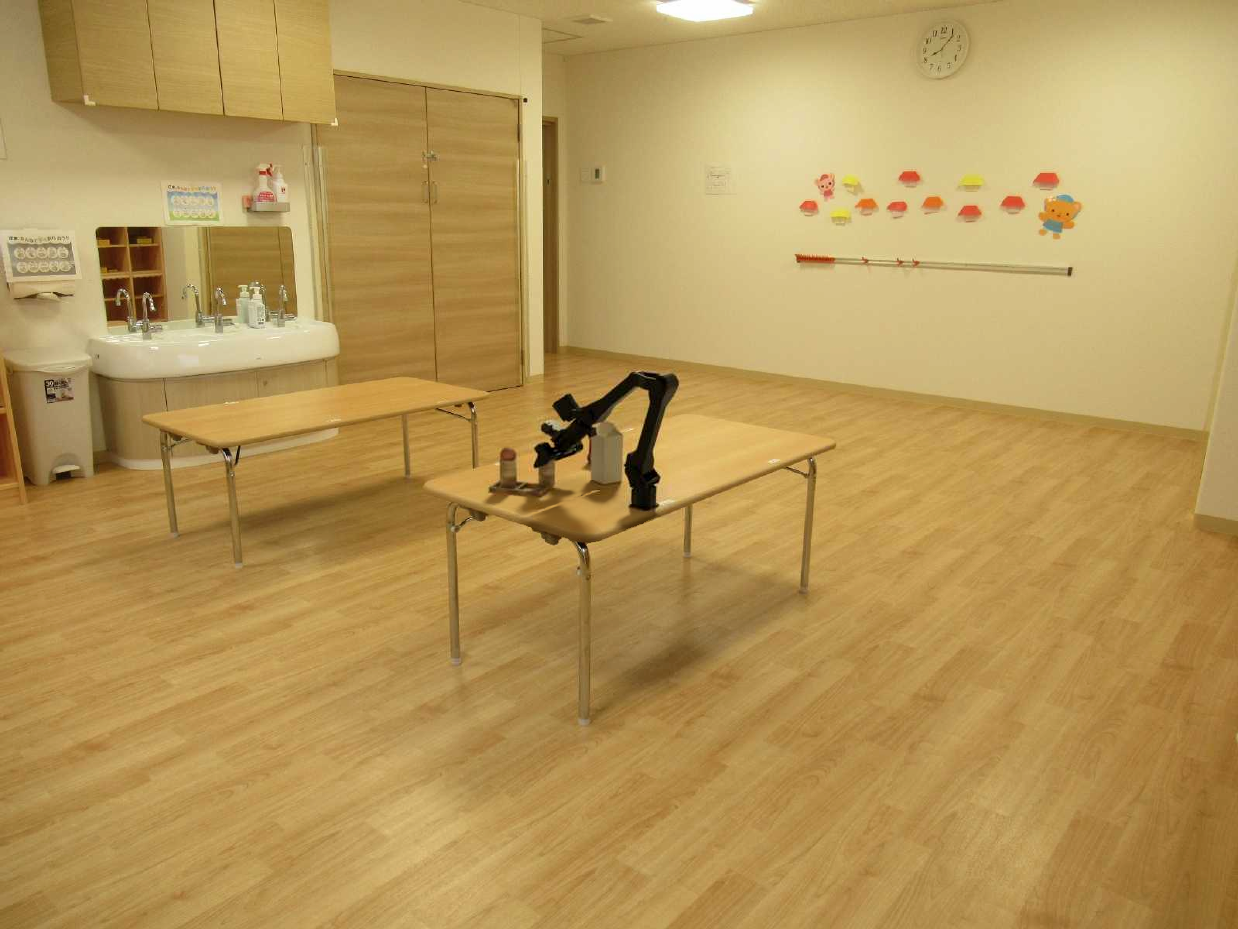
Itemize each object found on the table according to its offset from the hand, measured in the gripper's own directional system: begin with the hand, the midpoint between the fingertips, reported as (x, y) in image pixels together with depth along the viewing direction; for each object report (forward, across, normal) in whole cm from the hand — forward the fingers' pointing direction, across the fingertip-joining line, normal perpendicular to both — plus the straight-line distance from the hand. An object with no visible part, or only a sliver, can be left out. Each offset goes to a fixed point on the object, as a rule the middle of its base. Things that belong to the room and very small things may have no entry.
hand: (543, 464), depth 273 cm
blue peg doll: (+4, 0, +6) cm, 7 cm away
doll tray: (+6, +10, +4) cm, 12 cm away
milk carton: (-4, -16, +14) cm, 22 cm away
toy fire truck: (+4, -33, +6) cm, 34 cm away
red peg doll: (+8, +11, +1) cm, 13 cm away
